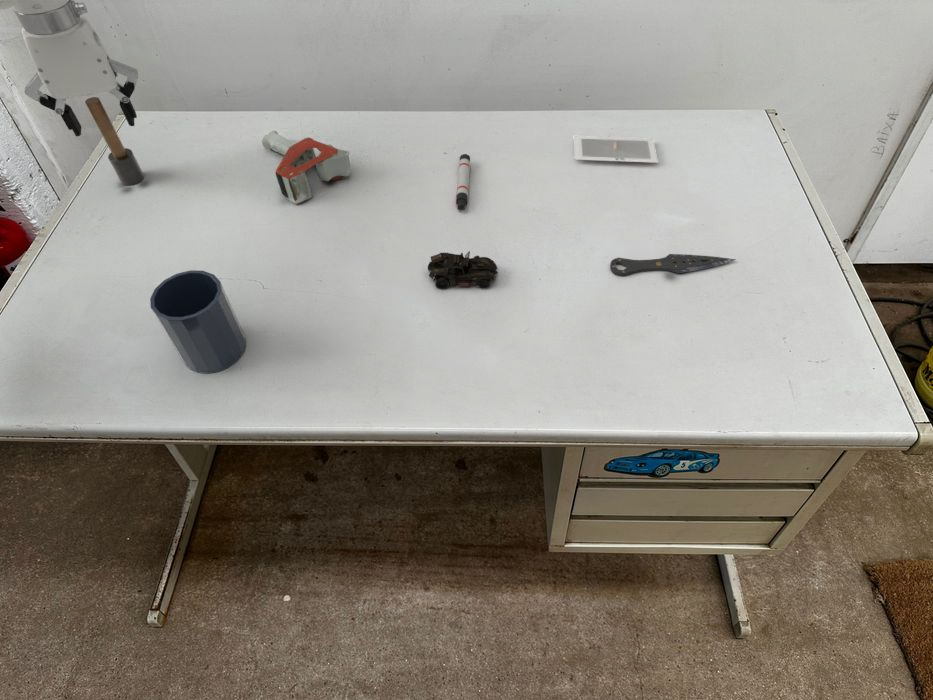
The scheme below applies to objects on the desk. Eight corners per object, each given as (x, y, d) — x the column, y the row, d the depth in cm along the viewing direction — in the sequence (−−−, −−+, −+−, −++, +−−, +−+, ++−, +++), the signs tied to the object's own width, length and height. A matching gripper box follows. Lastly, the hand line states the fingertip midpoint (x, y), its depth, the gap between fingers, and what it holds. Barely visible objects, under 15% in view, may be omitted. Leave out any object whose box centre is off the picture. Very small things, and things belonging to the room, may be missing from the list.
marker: (459, 163, 112) (459, 153, 111) (470, 163, 112) (470, 153, 111) (455, 216, 103) (454, 206, 101) (466, 216, 103) (466, 207, 101)
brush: (121, 187, 108) (78, 108, 97) (120, 174, 111) (79, 96, 99) (144, 182, 109) (105, 104, 98) (143, 170, 112) (105, 92, 100)
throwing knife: (607, 259, 96) (607, 256, 95) (731, 251, 97) (732, 248, 96) (613, 278, 93) (614, 275, 92) (741, 270, 94) (742, 267, 93)
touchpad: (572, 140, 117) (574, 130, 115) (651, 143, 116) (654, 133, 114) (573, 164, 112) (575, 154, 110) (656, 167, 111) (659, 157, 109)
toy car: (430, 261, 96) (429, 239, 92) (506, 264, 95) (507, 243, 92) (425, 289, 92) (424, 267, 89) (505, 293, 91) (506, 272, 88)
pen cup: (185, 381, 82) (151, 327, 73) (180, 335, 87) (148, 280, 78) (250, 363, 83) (224, 308, 75) (242, 319, 88) (217, 263, 80)
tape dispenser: (270, 148, 118) (249, 208, 105) (262, 123, 114) (238, 181, 101) (360, 142, 118) (350, 201, 104) (354, 116, 114) (343, 173, 100)
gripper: (112, -3, 92) (159, 106, 106) (-14, 15, 89) (51, 125, 102) (112, 18, 88) (161, 128, 102) (-21, 37, 84) (48, 149, 98)
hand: (105, 126), depth 102 cm, fingers open, 7 cm apart
